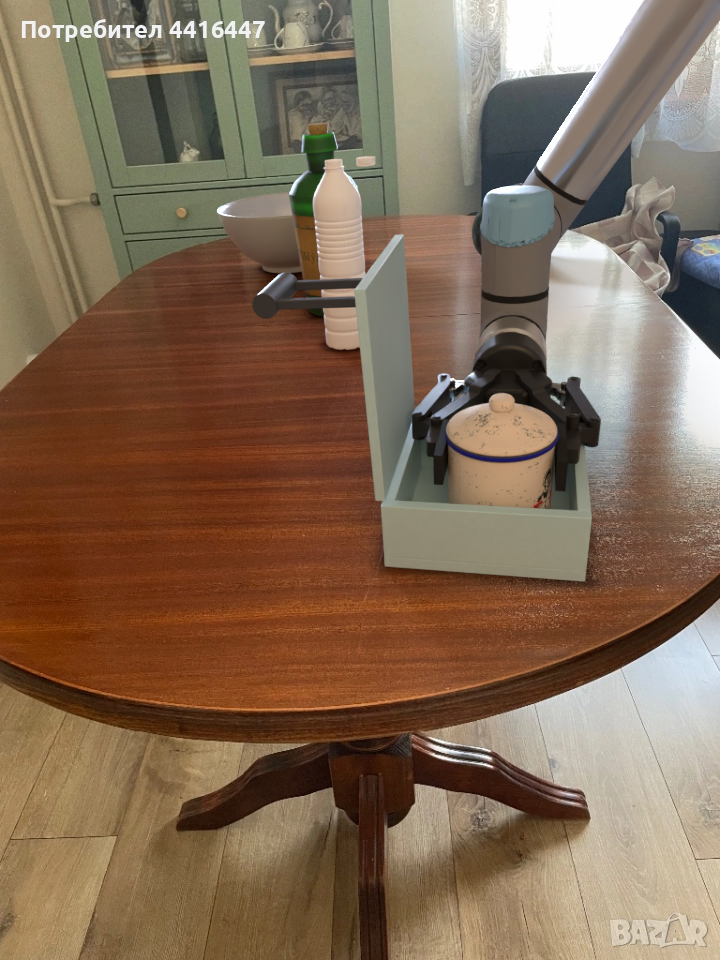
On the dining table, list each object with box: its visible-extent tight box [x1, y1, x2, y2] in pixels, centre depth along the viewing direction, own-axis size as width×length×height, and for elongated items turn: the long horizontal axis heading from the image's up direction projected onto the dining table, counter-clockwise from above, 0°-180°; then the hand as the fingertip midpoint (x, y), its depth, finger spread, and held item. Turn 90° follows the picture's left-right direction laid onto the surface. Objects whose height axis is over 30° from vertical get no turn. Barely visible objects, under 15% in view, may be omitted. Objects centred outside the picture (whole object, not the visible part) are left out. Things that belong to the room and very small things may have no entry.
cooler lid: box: [251, 234, 416, 502], centre depth 61 cm, size 17×16×10 cm
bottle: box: [289, 122, 359, 318], centre depth 113 cm, size 11×11×28 cm
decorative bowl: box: [216, 191, 302, 274], centre depth 145 cm, size 27×27×12 cm
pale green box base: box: [380, 423, 593, 583], centre depth 64 cm, size 16×16×6 cm
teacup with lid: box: [445, 393, 559, 509], centre depth 62 cm, size 12×9×12 cm
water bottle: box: [313, 155, 376, 351], centre depth 100 cm, size 9×6×25 cm
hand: (498, 473), depth 57 cm, fingers closed on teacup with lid, 9 cm apart
